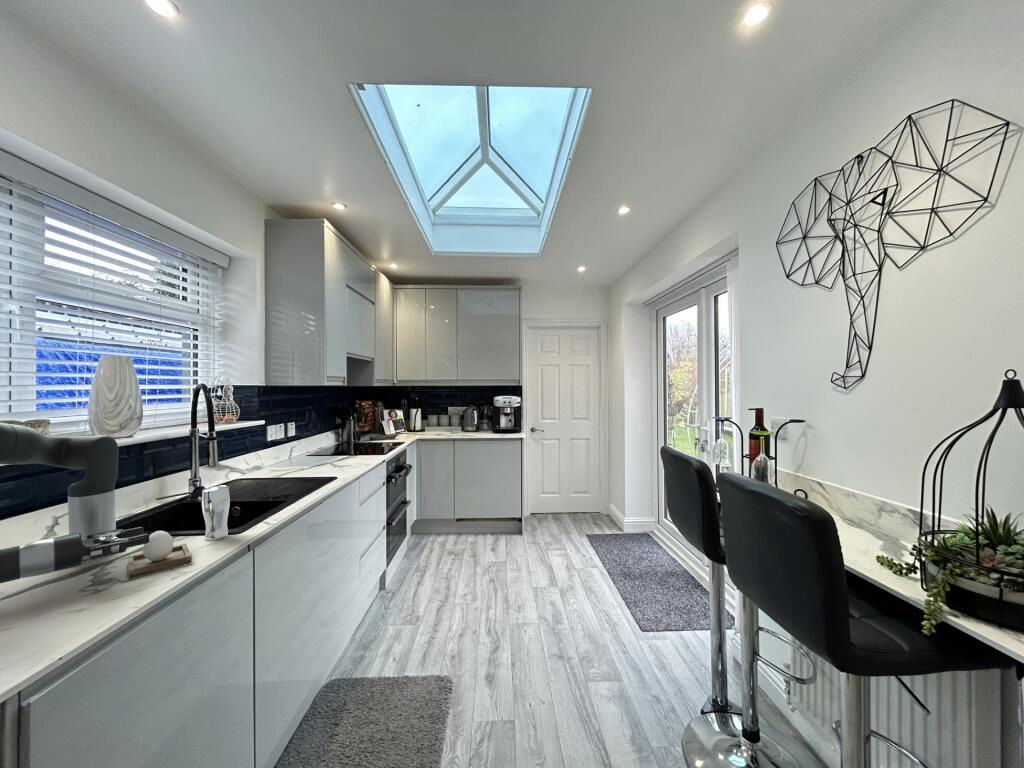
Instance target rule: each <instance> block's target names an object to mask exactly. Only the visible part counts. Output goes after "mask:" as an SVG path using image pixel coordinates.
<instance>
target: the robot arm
mask: <svg viewBox="0 0 1024 768" xmlns="http://www.w3.org/2000/svg"><path fill="white" fill-rule="evenodd" d="M119 450H120V449H119V445H118V443H117V440H116V439H115V438H114V437H113V436H111V435H107V434H106V435H103V434H102V435H101V434H100V435H98V434H95V435H77V436H76V435H75V436H74V435H73V436H59V435H58V436H57V435H46V434H43V433H41V432H40V431H39V430H37V429H34V428H32V427H29V426H25V425H21V424H20V425H19V424H13V423H6V422H0V465H31V464H41V465H46V466H53V467H58V468H64V469H70V470H85V476H84V478H82V479H81V480H80V481H77V482H74V483H72V484H70V485H69V486H68V488H67V507H68V508H67V509H68V511H67V512H68V514H67V515H68V516H67V517H68V534H67V535H61V536H56V537H51V538H46V539H40V540H35V541H33V542H29V543H26V544H25V543H24V544H20V545H17V546H12V547H6V548H2V549H0V584H4V583H8V582H12V581H16V580H20V579H25V578H33V577H38V576H41V575H46V574H51V573H55V572H59V571H63V570H66V569H71V568H76V567H79V566H81V565H82V564H83V561H87V560H96V559H100V558H104V557H108V556H109V557H110V556H113V555H117V554H121V553H122V554H123V553H125V552H126V551H127V550H128V549H129V548H133V547H137V546H143V545H144V544H147V543H149V536H150V535H149V533H145V528H144V527H143V526H139V527H134V528H129V529H125V530H124V529H119V528H117V527H116V526H117V524H116V522H117V519H116V489H115V487H116V483H117V480H118V476H119V459H120V458H119V454H120V451H119Z"/></svg>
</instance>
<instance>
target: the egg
mask: <svg viewBox="0 0 1024 768" xmlns="http://www.w3.org/2000/svg"><path fill="white" fill-rule="evenodd" d="M174 546H175V544H174V538H173V537H172V536H171V534H170V533H168V532H167V531H164V530H156V531H154V532H153V533H150V535H149V543H147V544H143V545H142V554H144V556H145V557H146V558H147V559H149V560H151V561H160V560H163V559H165V558H166V557H167V556H168V555H169V554H170V553H171V551H172V549H173V547H174Z"/></svg>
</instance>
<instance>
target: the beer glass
mask: <svg viewBox="0 0 1024 768" xmlns="http://www.w3.org/2000/svg"><path fill="white" fill-rule="evenodd" d="M229 489H230V487H229V486H228V485H216V486H214V485H213V486H209V487H206V488H203V489H202V491H201V493H202V494H201V495H202V496H201V508H202V514H203V518H204V522H205V535H204V541H217V540H221V539H224V538H227V537H228V536H229V535H228V532H229V529H228V517H229V510H230V506H231V505H230V504H231V503H230V502H231V500H230V499H231V498H230V490H229ZM227 530H228V531H227ZM227 535H228V536H227ZM226 536H227V537H226ZM223 537H224V538H223ZM220 538H221V539H220ZM216 539H217V540H216Z"/></svg>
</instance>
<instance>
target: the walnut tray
mask: <svg viewBox="0 0 1024 768" xmlns="http://www.w3.org/2000/svg"><path fill="white" fill-rule="evenodd" d="M127 562H128V563H127V566H128V567H127V569H128V571H127V572H128V580H131V579H135V578H138V576H139V577H143V576H147V575H151V574H155V573H157V572H158V571H159V572H163V571H167V570H170V569H169V568H171V569H174V568H173V567H175V568H178V567H177V566H179V567H182V566H181V565H183V566H185V565H184V564H187V565H190V564H189V563H191V564H192V553H191V552H190V549H189V547H188V545H187V543H183V544H179V545H173V549H172V551H171V553H170V554H169V555H168V556H167V557H166V558H165V559H163V560H160V561H151V560H149V559H147V558H146V557H145V556H144V554H143V553H138V554H134V555H131V556H127ZM166 569H167V570H166ZM154 572H155V573H154ZM159 572H158V573H159ZM142 575H143V576H142ZM134 577H135V578H134ZM130 578H131V579H130Z"/></svg>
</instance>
